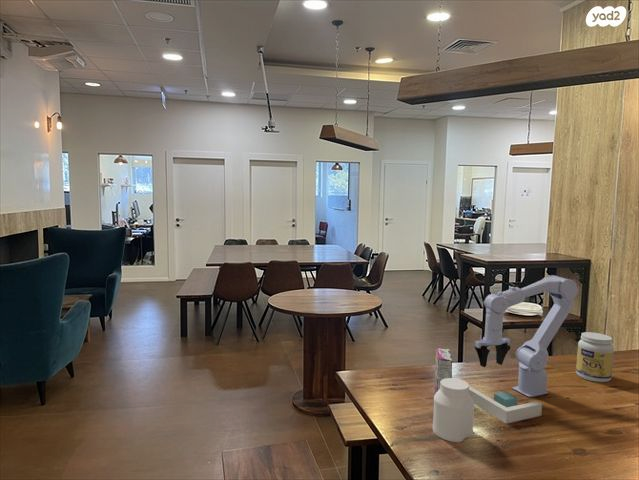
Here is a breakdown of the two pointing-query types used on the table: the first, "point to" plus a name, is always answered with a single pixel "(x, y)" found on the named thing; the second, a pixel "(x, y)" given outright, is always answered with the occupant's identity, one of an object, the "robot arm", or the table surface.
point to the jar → (453, 410)
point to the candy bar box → (442, 366)
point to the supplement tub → (595, 357)
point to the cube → (505, 399)
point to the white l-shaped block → (506, 408)
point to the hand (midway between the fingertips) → (491, 365)
